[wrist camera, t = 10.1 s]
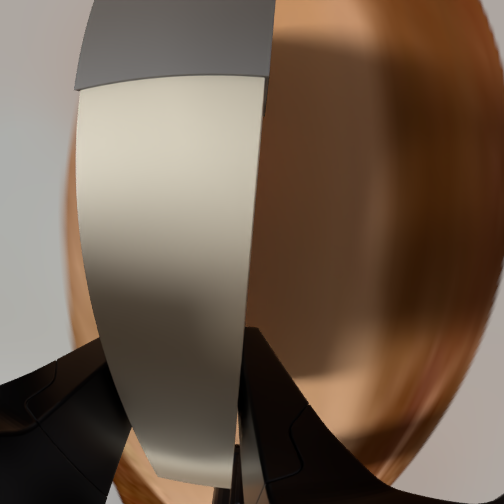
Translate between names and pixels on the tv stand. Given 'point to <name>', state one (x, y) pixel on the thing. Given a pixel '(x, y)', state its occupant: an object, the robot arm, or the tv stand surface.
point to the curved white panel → (173, 213)
